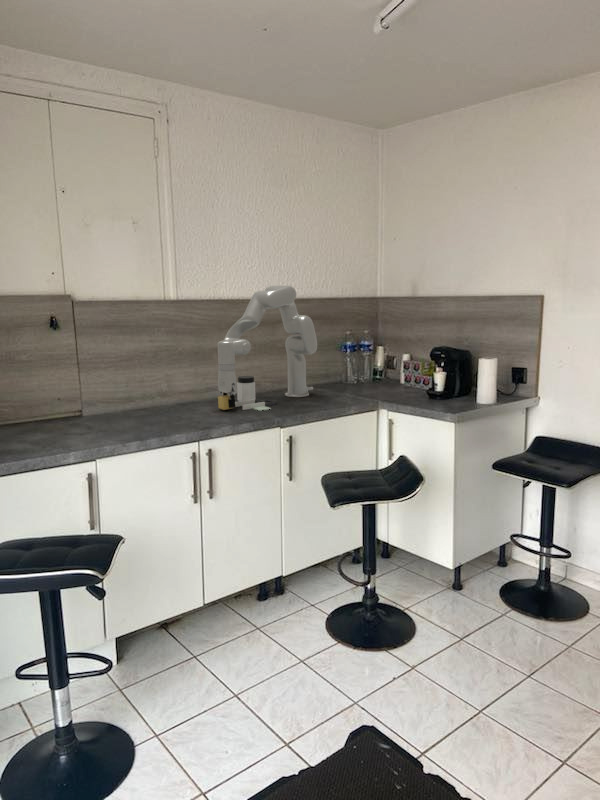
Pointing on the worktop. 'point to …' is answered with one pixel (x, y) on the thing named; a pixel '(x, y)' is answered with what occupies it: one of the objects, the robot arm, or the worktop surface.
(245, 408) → the channel
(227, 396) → the block
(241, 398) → the jar
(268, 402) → the tray
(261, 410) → the coaster
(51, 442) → the worktop surface
